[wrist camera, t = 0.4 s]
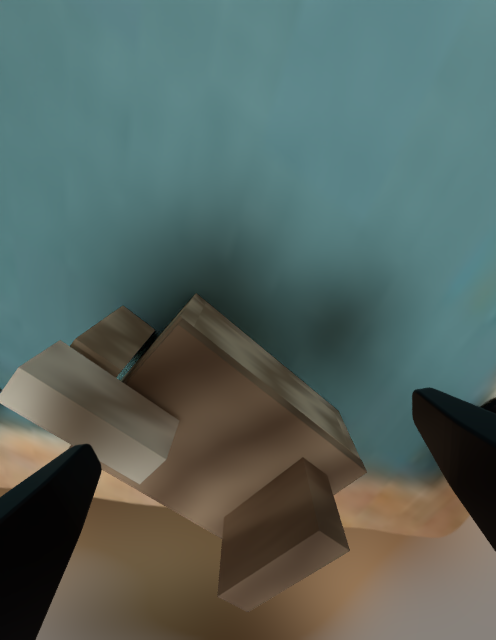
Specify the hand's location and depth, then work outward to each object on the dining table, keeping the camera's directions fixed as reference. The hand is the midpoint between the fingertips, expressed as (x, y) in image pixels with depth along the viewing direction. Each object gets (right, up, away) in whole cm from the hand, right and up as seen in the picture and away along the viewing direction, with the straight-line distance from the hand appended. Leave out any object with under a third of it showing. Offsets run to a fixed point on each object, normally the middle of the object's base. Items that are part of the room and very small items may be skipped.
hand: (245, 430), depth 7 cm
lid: (-2, -6, +13) cm, 14 cm away
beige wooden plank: (-8, -1, +8) cm, 12 cm away
